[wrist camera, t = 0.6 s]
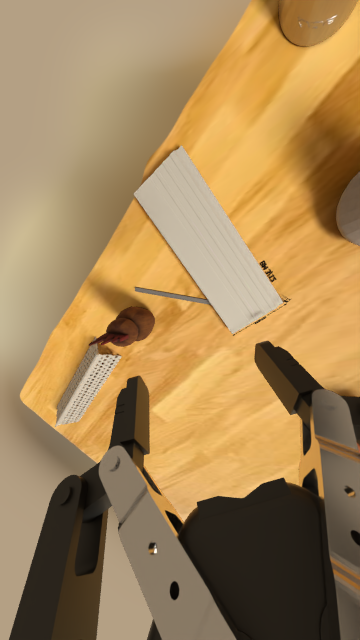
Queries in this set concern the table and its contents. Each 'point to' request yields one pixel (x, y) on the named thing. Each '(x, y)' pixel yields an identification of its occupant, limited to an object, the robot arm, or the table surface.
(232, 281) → the baseboard molding
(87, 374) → the corner bead
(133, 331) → the wooden figurine
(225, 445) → the table surface
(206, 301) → the thin grey rod
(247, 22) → the table surface
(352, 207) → the coffee pot
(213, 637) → the robot arm
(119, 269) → the table surface
